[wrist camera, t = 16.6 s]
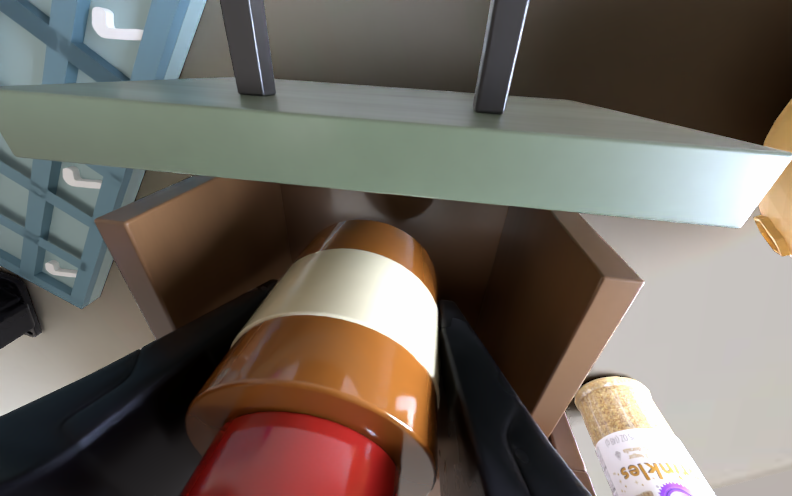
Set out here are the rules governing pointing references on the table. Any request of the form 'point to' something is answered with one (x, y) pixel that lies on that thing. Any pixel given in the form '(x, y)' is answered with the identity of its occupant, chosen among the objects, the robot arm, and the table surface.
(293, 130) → the drawer
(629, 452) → the sprinkles bottle
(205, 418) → the spice bottle
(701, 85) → the table surface
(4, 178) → the calendar
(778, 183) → the stress ball
